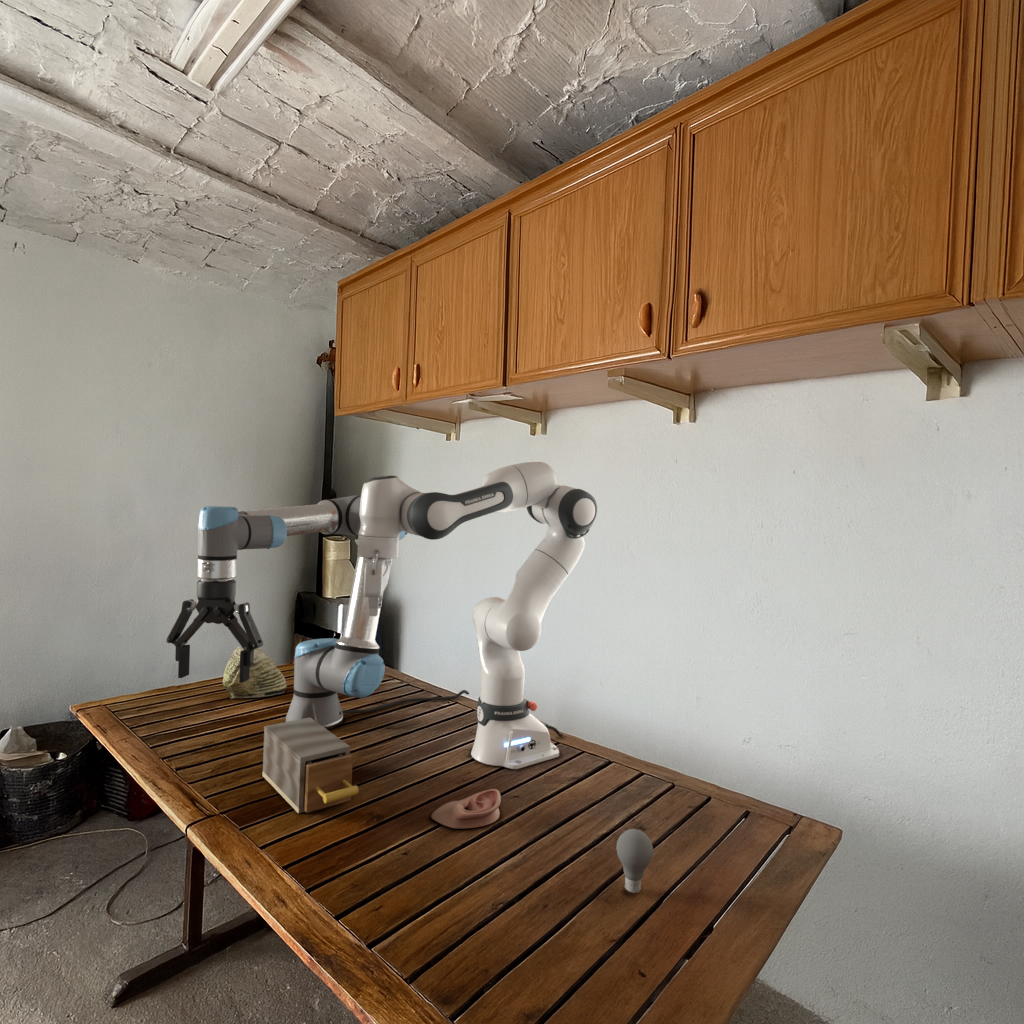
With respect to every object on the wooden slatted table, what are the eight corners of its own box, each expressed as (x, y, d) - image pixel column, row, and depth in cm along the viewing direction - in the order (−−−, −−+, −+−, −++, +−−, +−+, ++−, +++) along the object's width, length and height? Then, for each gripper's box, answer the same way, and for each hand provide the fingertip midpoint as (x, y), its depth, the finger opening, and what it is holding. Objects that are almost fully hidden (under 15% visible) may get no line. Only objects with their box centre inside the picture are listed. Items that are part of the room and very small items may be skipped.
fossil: (218, 695, 195) (220, 647, 195) (278, 685, 208) (279, 640, 207) (228, 703, 189) (230, 653, 188) (289, 692, 201) (290, 645, 201)
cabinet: (348, 799, 133) (350, 746, 133) (298, 813, 126) (300, 757, 126) (308, 764, 149) (310, 717, 149) (262, 775, 142) (264, 726, 142)
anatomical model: (426, 804, 124) (444, 779, 135) (425, 824, 124) (443, 798, 135) (492, 814, 121) (505, 787, 132) (491, 834, 121) (504, 806, 133)
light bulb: (610, 879, 108) (613, 822, 108) (644, 879, 109) (647, 822, 109) (619, 902, 102) (622, 840, 102) (655, 901, 103) (658, 840, 103)
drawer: (364, 811, 126) (365, 765, 126) (318, 825, 120) (320, 777, 120) (312, 766, 146) (314, 727, 146) (271, 776, 140) (273, 735, 140)
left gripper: (149, 578, 132) (146, 679, 132) (264, 584, 129) (261, 687, 130) (172, 573, 139) (169, 669, 140) (281, 579, 137) (278, 677, 137)
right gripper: (389, 553, 129) (386, 621, 129) (395, 546, 149) (392, 604, 150) (358, 552, 128) (354, 620, 128) (368, 545, 149) (365, 603, 149)
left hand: (213, 678), depth 135 cm, fingers open, 13 cm apart
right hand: (375, 611), depth 139 cm, fingers open, 8 cm apart
